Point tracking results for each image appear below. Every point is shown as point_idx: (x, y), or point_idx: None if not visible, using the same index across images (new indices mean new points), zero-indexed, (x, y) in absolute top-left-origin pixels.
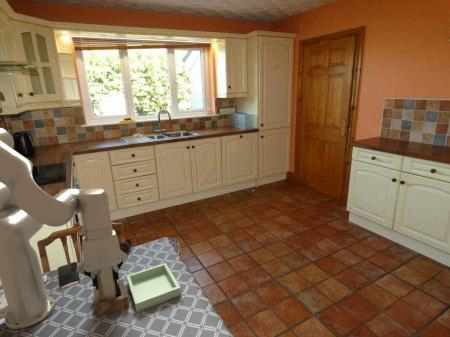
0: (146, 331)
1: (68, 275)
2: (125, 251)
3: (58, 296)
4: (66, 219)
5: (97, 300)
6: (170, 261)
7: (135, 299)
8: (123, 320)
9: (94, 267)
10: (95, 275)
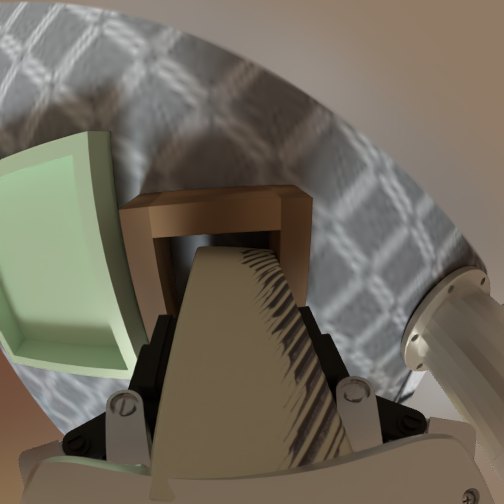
0: (103, 13)
1: None
2: None
3: (384, 365)
4: None
5: (294, 260)
6: (28, 371)
7: (84, 172)
8: (175, 103)
9: (393, 496)
10: None
